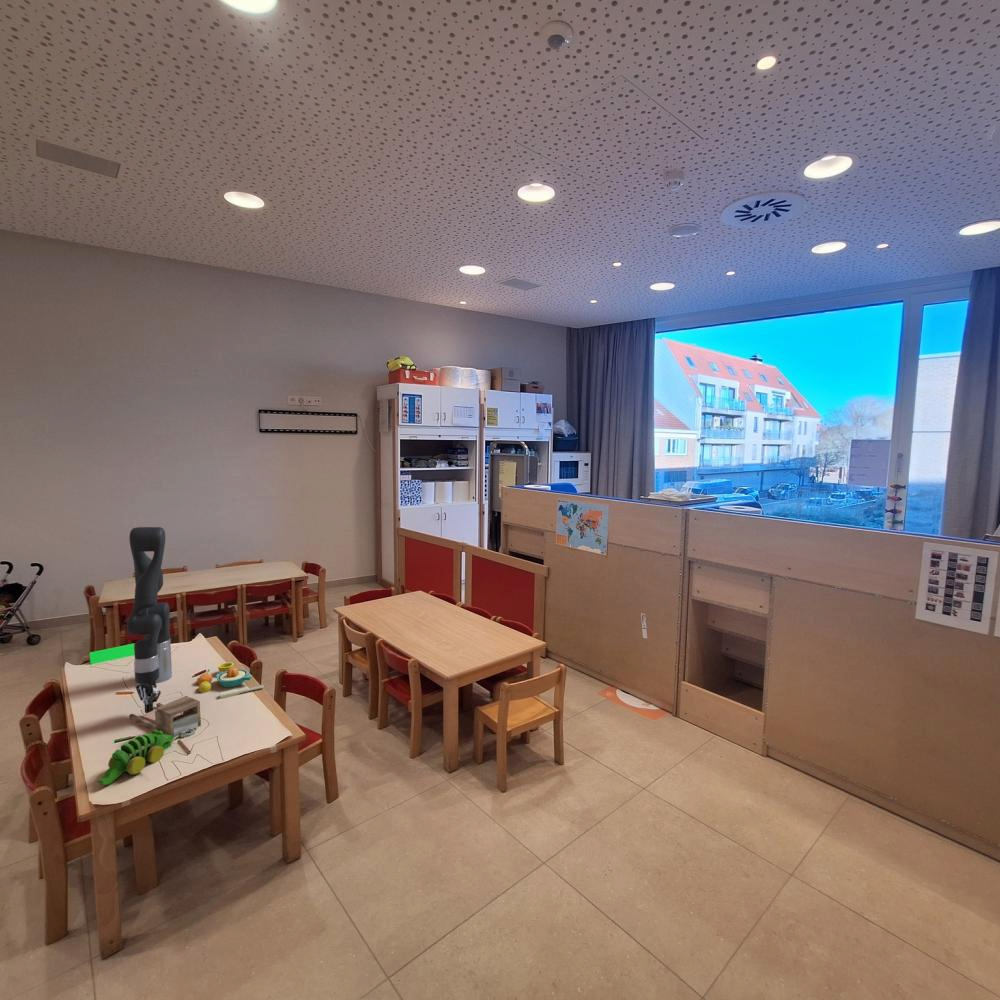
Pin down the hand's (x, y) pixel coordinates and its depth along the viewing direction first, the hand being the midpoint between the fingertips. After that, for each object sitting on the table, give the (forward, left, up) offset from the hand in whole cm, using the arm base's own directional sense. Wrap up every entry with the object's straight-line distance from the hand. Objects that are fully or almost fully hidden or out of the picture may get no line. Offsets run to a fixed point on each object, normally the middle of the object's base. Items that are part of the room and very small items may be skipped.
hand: (149, 712), depth 194 cm
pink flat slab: (+7, +1, -2) cm, 8 cm away
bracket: (-64, +21, -3) cm, 67 cm away
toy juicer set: (+3, +29, -2) cm, 29 cm away
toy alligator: (+26, -14, -2) cm, 30 cm away
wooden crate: (+17, 0, -2) cm, 17 cm away
